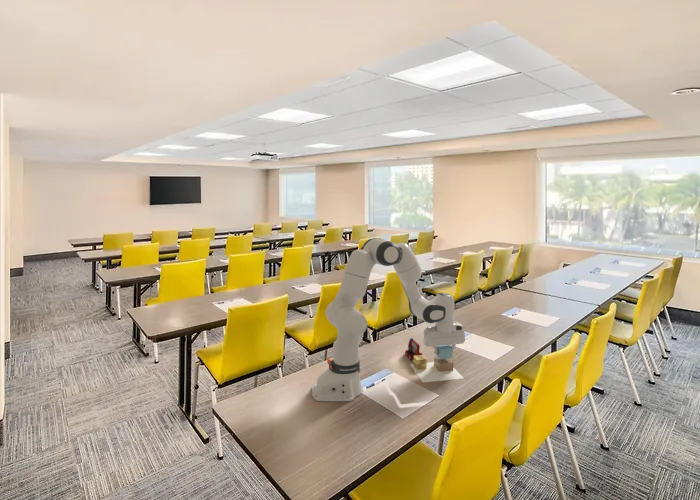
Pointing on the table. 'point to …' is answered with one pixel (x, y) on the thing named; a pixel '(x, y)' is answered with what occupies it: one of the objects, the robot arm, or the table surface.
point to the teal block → (444, 351)
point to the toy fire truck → (412, 350)
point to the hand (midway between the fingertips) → (443, 352)
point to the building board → (438, 371)
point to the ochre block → (420, 362)
